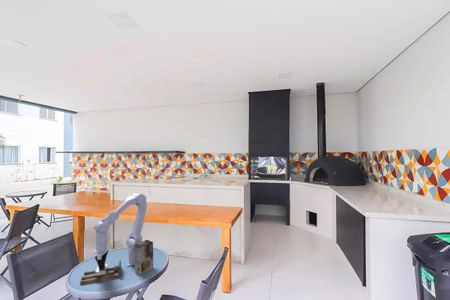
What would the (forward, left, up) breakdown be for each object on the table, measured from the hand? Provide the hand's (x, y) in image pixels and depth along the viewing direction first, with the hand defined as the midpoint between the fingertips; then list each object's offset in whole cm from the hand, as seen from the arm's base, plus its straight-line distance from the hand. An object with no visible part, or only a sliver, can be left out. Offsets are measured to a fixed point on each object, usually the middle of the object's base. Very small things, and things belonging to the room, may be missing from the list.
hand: (102, 266), depth 122 cm
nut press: (0, 0, -5) cm, 5 cm away
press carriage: (0, 0, -3) cm, 3 cm away
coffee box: (-23, +2, -6) cm, 23 cm away
